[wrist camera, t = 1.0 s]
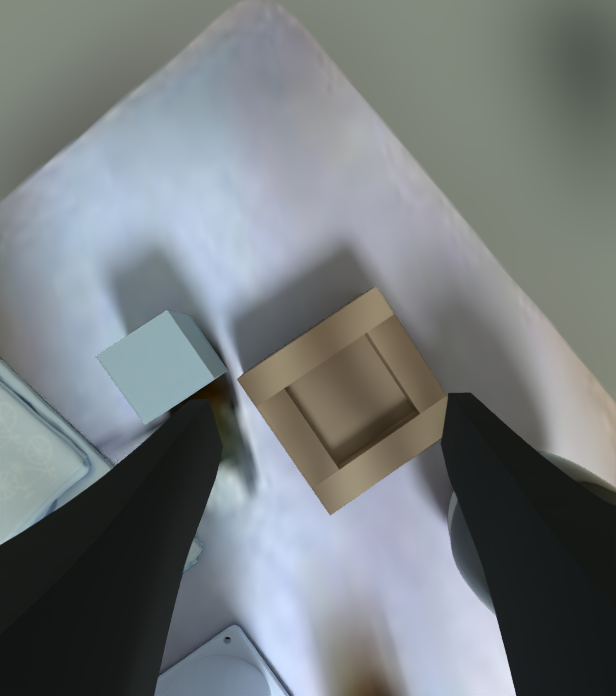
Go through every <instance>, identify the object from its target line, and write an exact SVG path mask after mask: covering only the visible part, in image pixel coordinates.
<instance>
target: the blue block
mask: <svg viewBox="0 0 616 696" xmlns="http://www.w3.org/2000/svg"><path fill="white" fill-rule="evenodd" d="M96 358H97V359H98V361H99V362H100V363H101V365H102V366H103V368H104V369H105V370H106V372H107V373H108V375H109V376H110V377H111V379H112V380H113V382H114V383H115V384H116V386H117V387H118V389H119V390H120V391H121V393H122V394H123V396H124V397H125V398H126V400H127V401H128V403H129V404H130V405H131V407H132V408H133V410H134V411H135V412H136V414H137V415H138V417H139V418H140V419H141V421H142V422H143V424H144V425H146V424H147V423H149V422H150V421H152V420H154V419H155V418H157V417H158V416H160V415H161V414H163V413H165V412H166V411H168V410H169V409H171V408H172V407H174V406H175V405H177V404H178V403H180V402H181V401H183V400H184V399H186V398H187V397H189V396H190V395H192V394H193V393H195V392H196V391H198V390H199V389H201V388H202V387H204V386H205V385H207V384H208V383H210V382H211V381H213V380H214V379H216V378H217V377H219V376H220V375H222V374H223V373H225V372H226V371H228V370H227V368H226V367H225V365H224V364H223V362H222V361H221V359H220V358H219V357H218V355H217V354H216V352H215V351H214V349H213V348H212V346H211V345H210V343H209V342H208V340H207V339H206V338H205V336H204V335H203V333H202V332H201V330H200V329H199V327H198V326H197V324H196V323H195V322H194V320H193V319H192V317H191V316H190V315H186V314H182V313H178V312H174V311H170V310H166V311H164V312H163V313H161V314H160V315H158V316H157V317H155V318H154V319H152V320H150V321H149V322H147V323H146V324H144V325H143V326H141V327H140V328H138V329H137V330H135V331H134V332H132V333H130V334H129V335H127V336H126V337H124V338H123V339H121V340H120V341H118V342H117V343H115V344H114V345H112V346H111V347H109V348H107V349H106V350H104V351H103V352H101V353H100V354H98V355H97V356H96Z"/></svg>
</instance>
